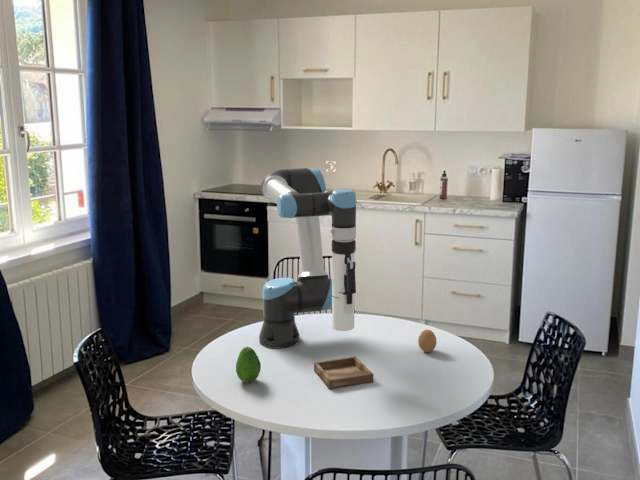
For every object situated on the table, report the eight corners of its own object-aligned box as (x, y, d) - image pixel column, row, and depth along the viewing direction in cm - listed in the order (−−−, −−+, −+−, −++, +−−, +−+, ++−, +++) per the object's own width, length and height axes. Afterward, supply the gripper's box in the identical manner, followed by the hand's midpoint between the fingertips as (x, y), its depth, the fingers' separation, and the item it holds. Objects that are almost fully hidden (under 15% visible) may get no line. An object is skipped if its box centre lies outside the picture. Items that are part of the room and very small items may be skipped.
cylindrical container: (352, 331, 205) (353, 255, 199) (330, 330, 206) (330, 254, 201) (355, 323, 212) (356, 249, 206) (334, 322, 213) (334, 248, 207)
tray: (314, 370, 217) (313, 362, 217) (355, 364, 222) (355, 356, 222) (329, 389, 204) (329, 380, 203) (373, 382, 209) (373, 373, 208)
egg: (414, 350, 234) (414, 329, 232) (426, 346, 237) (427, 325, 236) (427, 356, 229) (427, 334, 227) (439, 352, 232) (440, 330, 230)
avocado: (237, 388, 205) (235, 352, 202) (235, 377, 213) (234, 343, 210) (262, 385, 207) (261, 350, 204) (259, 375, 214) (258, 341, 211)
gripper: (321, 233, 210) (321, 301, 216) (344, 247, 192) (344, 320, 197) (343, 232, 213) (342, 298, 218) (367, 245, 194) (366, 317, 200)
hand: (343, 309), depth 208 cm, fingers closed on cylindrical container, 7 cm apart
